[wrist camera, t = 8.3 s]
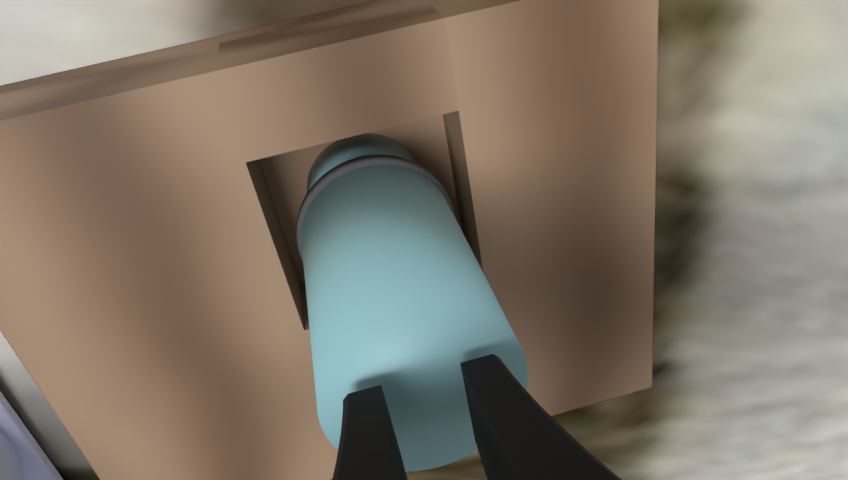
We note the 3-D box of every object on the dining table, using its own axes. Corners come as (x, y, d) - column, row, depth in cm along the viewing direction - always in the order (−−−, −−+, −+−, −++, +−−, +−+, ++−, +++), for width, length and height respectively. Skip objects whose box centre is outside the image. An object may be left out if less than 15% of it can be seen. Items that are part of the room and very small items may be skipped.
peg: (311, 260, 21) (339, 498, 13) (275, 138, 19) (284, 339, 11) (441, 229, 21) (539, 442, 14) (421, 105, 19) (524, 279, 12)
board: (150, 456, 25) (136, 534, 22) (-60, 99, 17) (-122, 148, 14) (610, 329, 26) (651, 387, 23) (600, -51, 19) (658, -32, 16)
